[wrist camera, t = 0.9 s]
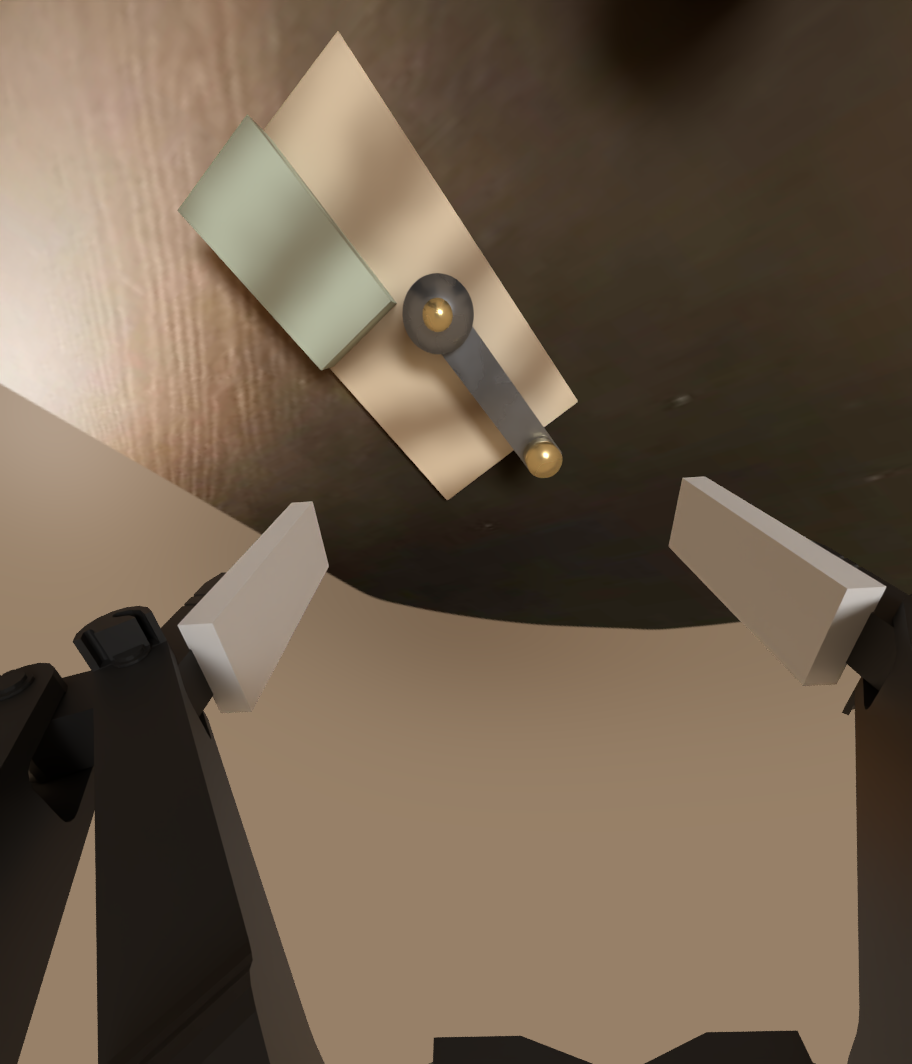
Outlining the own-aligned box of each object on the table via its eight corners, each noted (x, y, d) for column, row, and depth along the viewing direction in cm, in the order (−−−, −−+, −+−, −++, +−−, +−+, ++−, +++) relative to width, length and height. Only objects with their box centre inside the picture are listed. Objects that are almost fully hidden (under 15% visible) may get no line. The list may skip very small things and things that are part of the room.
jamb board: (204, 221, 26) (166, 206, 23) (341, 40, 22) (321, -11, 19) (447, 497, 35) (446, 515, 32) (575, 399, 31) (589, 408, 28)
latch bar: (395, 311, 28) (384, 308, 23) (444, 263, 26) (441, 251, 22) (519, 472, 33) (528, 492, 29) (565, 438, 32) (581, 455, 27)
